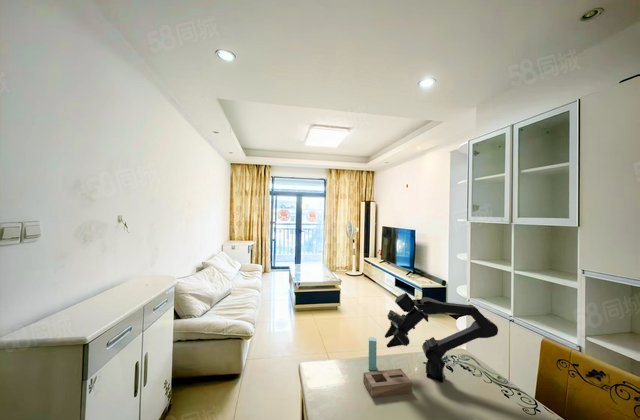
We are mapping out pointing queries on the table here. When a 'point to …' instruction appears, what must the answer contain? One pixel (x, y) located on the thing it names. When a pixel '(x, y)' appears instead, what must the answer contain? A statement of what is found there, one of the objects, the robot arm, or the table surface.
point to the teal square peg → (372, 353)
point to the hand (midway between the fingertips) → (386, 341)
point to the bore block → (387, 382)
